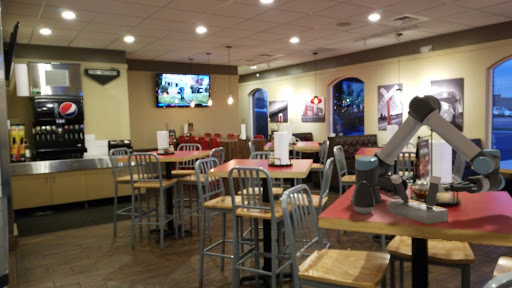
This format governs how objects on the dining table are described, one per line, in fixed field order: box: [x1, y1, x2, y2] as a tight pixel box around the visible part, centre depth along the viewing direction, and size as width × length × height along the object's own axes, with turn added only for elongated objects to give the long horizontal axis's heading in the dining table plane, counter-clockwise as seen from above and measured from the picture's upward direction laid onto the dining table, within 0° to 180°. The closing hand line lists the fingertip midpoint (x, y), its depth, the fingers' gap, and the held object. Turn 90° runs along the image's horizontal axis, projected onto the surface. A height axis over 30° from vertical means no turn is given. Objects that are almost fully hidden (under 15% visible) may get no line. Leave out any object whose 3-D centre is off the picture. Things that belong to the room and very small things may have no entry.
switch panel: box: [388, 198, 449, 225], centre depth 176 cm, size 23×12×5 cm, turn 22°
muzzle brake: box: [378, 173, 409, 196], centre depth 233 cm, size 10×28×10 cm, turn 8°
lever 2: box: [425, 175, 442, 209], centre depth 169 cm, size 4×3×14 cm
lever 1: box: [390, 174, 410, 203], centre depth 180 cm, size 4×3×14 cm
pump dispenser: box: [352, 181, 376, 215], centre depth 184 cm, size 10×10×15 cm
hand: (437, 189), depth 169 cm, fingers closed
